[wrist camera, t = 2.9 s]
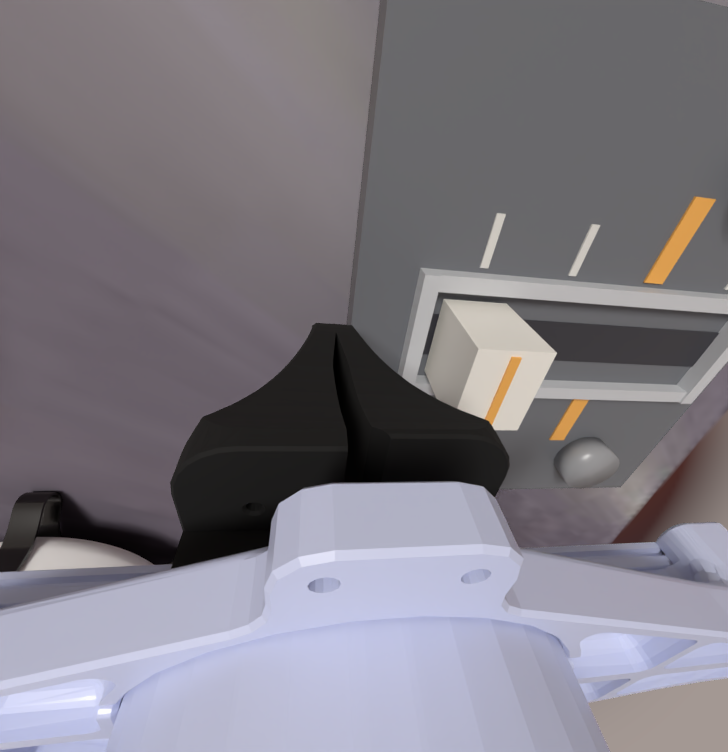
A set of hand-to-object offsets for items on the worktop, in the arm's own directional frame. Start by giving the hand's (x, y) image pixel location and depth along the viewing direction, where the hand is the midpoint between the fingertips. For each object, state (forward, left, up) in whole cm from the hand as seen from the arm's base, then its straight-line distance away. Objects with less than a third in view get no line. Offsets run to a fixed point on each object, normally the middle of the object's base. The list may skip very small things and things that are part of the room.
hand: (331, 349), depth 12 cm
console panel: (0, -10, -3) cm, 10 cm away
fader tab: (0, -5, -1) cm, 5 cm away
